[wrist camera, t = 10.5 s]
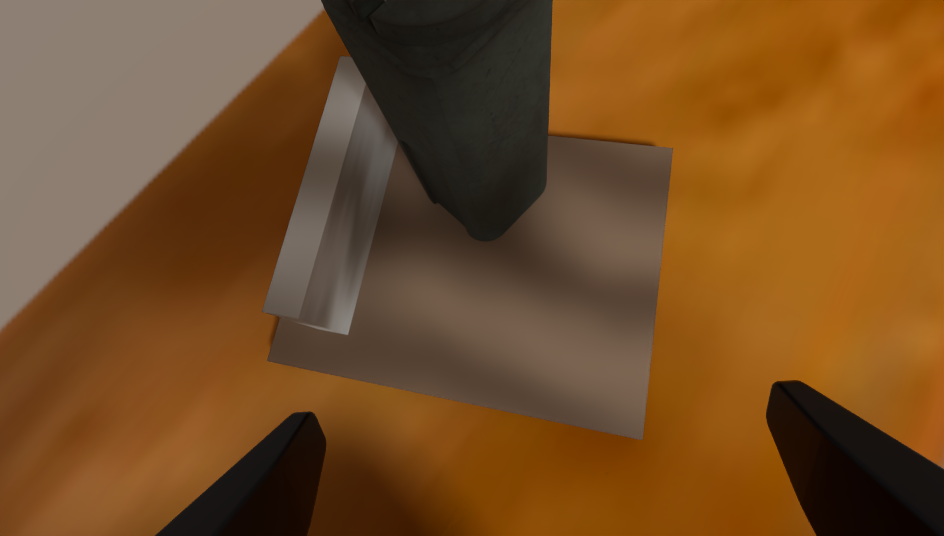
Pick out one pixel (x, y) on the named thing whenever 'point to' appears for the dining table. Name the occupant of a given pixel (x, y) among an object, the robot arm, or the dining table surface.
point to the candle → (460, 97)
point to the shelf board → (474, 276)
